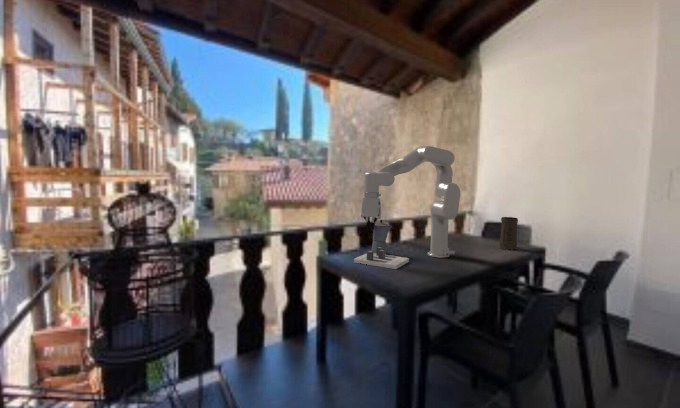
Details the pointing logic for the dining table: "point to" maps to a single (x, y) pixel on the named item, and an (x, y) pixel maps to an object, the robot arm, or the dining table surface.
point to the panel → (382, 261)
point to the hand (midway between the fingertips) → (370, 229)
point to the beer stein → (508, 233)
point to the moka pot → (379, 235)
